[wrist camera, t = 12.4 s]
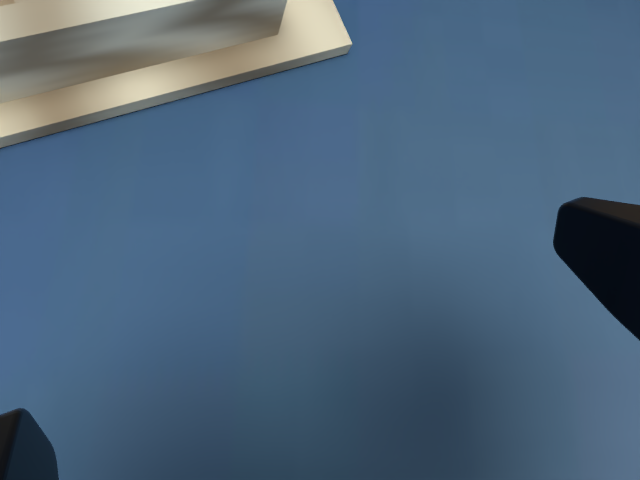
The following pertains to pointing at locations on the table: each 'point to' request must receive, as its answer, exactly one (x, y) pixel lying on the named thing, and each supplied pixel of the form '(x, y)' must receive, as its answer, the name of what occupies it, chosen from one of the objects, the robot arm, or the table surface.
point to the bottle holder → (145, 54)
